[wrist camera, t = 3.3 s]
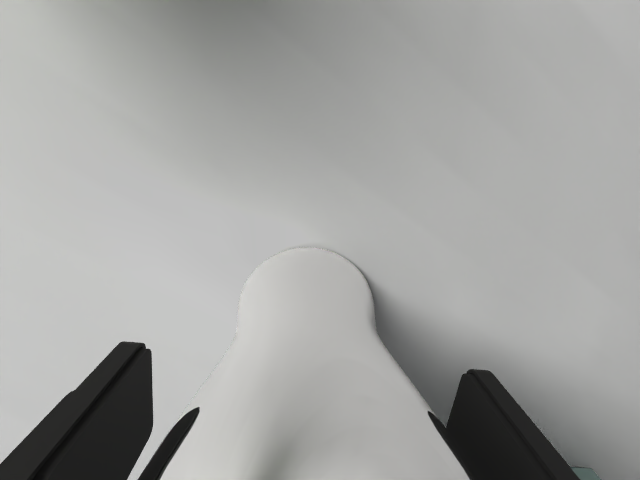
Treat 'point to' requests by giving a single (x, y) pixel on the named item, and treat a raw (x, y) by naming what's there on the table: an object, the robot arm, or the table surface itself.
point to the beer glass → (307, 390)
